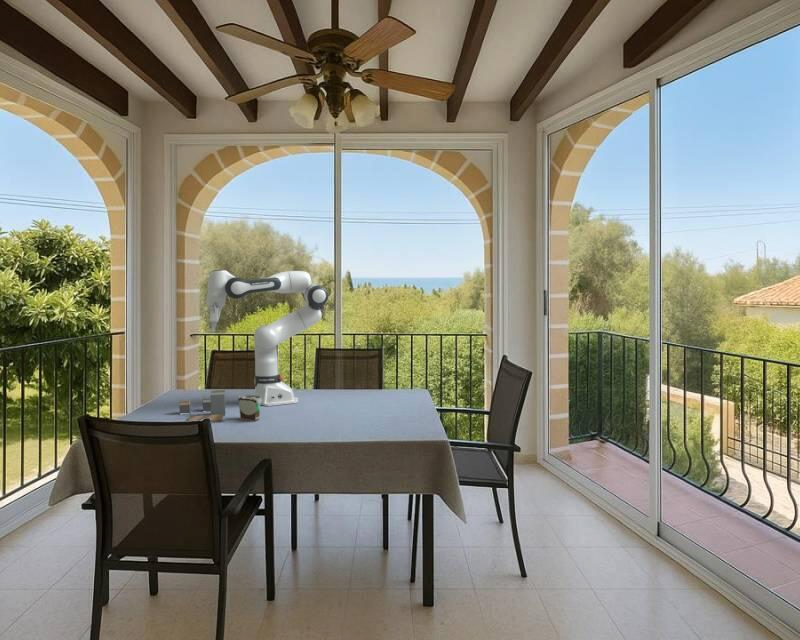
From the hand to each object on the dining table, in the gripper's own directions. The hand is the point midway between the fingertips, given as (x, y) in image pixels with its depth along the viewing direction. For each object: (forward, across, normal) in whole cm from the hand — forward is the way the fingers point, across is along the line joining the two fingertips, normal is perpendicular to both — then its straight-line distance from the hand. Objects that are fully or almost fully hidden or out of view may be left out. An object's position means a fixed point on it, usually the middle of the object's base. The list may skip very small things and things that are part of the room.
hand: (213, 330), depth 261 cm
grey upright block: (+37, -19, -6) cm, 42 cm away
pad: (+38, -28, -1) cm, 47 cm away
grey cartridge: (+38, -8, -1) cm, 38 cm away
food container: (+36, -31, -21) cm, 52 cm away
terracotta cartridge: (+39, -11, +9) cm, 41 cm away
